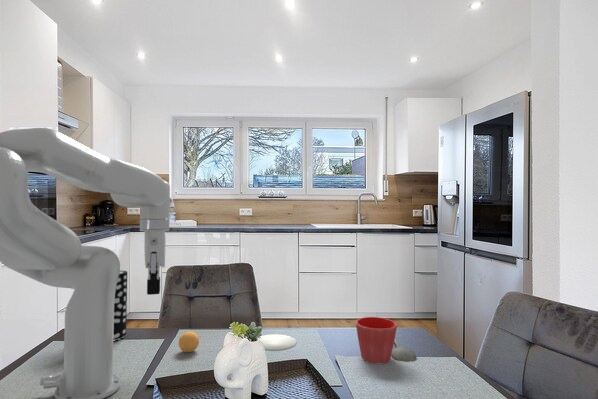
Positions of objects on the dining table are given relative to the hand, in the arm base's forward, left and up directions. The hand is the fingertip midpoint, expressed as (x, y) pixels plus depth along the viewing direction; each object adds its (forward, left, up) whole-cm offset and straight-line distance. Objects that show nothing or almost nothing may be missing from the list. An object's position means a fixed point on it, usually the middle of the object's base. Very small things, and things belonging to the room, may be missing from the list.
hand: (153, 292), depth 104 cm
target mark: (+35, 0, -17) cm, 39 cm away
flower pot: (+58, -20, -17) cm, 63 cm away
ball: (+10, 0, -14) cm, 17 cm away
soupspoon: (+68, -14, -18) cm, 72 cm away
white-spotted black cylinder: (-12, +19, -17) cm, 29 cm away
